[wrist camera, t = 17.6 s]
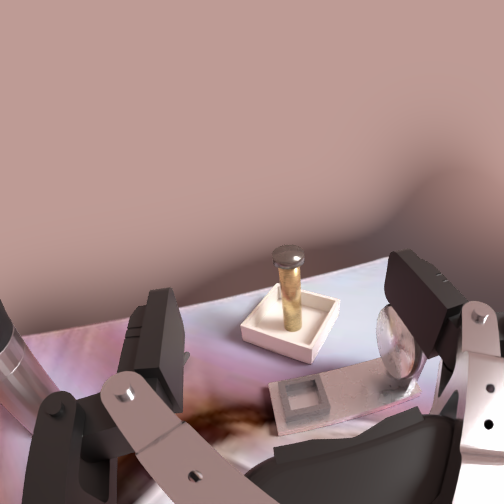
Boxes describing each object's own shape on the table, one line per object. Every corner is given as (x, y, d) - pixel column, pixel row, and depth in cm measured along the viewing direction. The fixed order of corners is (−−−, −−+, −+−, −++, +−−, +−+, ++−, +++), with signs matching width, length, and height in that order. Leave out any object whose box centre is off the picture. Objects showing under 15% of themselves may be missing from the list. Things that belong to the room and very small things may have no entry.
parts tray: (242, 340, 49) (240, 325, 47) (277, 298, 58) (276, 283, 56) (311, 364, 43) (312, 349, 41) (338, 314, 52) (340, 299, 50)
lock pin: (275, 330, 50) (266, 258, 42) (286, 313, 53) (280, 242, 45) (299, 338, 47) (296, 264, 40) (310, 320, 50) (308, 247, 43)
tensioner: (279, 441, 33) (274, 380, 26) (267, 383, 41) (259, 312, 34) (421, 400, 34) (455, 330, 27) (395, 353, 42) (414, 281, 35)
